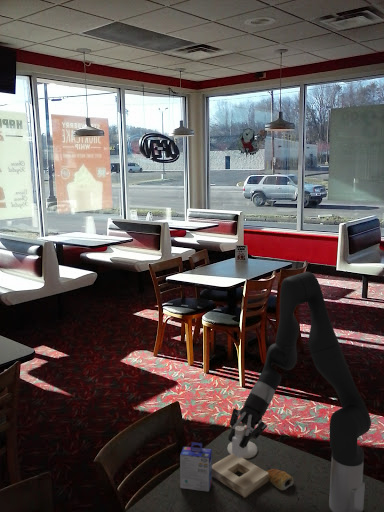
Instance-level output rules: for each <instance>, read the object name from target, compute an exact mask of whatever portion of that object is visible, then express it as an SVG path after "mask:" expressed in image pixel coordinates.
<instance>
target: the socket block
mask: <svg viewBox="0 0 384 512" xmlns="http://www.w3.org/2000/svg"><path fill="white" fill-rule="evenodd" d="M237 472H240V473H241V475H240V476H238V475H237V474H235V473H237ZM212 478H214V479H215V480H217V481H218V482H221V483H222V484H223V485H225V486H226V487H228V488H230V489H231V490H233V491H234V492H236V493H237V494H238V495H240V496H242V497H243V498H246V497H248V496H249V495H251V494H252V493H253V492H255V491H256V490H258V489H260V488H261V487H263V486H264V485H265V484H267V483H268V482H270V480H269V473H268V472H267V470H264V469H263V468H261V467H259V466H257V465H255V464H254V463H253V462H251V461H249V460H248V459H244V458H242V457H241V458H238V457H237V456H235V455H234V454H233V453H232V454H228V455H227V456H225V457H224V458H221V459H220V460H219V461H217V462H215V463H212Z"/></svg>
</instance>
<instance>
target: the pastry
mask: <svg viewBox="0 0 384 512" xmlns="http://www.w3.org/2000/svg"><path fill="white" fill-rule="evenodd" d="M266 472H268V473H269V482H270V483H271V484H272V485H273V486H274V487H275V488H276V489H277V490H279V491H285V490H287V489H288V488H289V487H292V486H293V485H294V481H295V480H294V478H293V476H291V474H289V473H287V472H286V471H284V470H280V469H278V468H270V469H267V470H266Z"/></svg>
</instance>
